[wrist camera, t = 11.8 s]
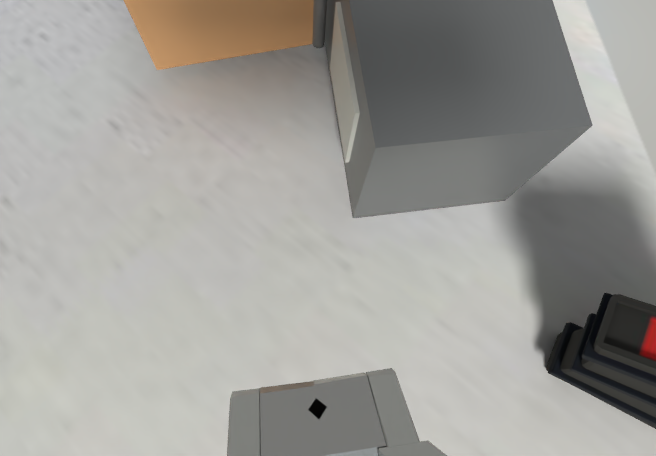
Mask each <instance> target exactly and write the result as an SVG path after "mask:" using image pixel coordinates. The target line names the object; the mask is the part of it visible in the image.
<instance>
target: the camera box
mask: <svg viewBox="0 0 656 456" xmlns="http://www.w3.org/2000/svg"><path fill="white" fill-rule="evenodd" d="M325 46H326V52H327V58H328V65H329V71H330V77H331V83H332V90H333V96H334V102H335V109H336V115H337V121H338V127H339V134H340V140H341V146H342V153H343V159H344V165H345V172H346V178H347V184H348V190H349V197H350V203H351V209H352V216H353V218H359V217H368V216H376V215H385V214H393V213H402V212H411V211H419V210H428V209H436V208H445V207H453V206H462V205H471V204H479V203H488V202H496V201H505V200H506V199H507V198H508V197H509V196H511V195H512V194H513V193H514V192H515V191H516V190H518V189H519V188H520V187H521V186H522V185H523V184H525V183H526V182H527V181H528V180H529V179H530V178H532V177H533V176H534V175H535V174H536V173H537V172H539V171H540V170H541V169H542V168H543V167H544V166H546V165H547V164H548V163H549V162H550V161H551V160H553V159H554V158H555V157H556V156H557V155H558V154H560V153H561V152H562V151H563V150H564V149H565V148H567V147H568V146H569V145H570V144H571V143H573V142H574V141H575V140H576V139H577V138H578V137H580V136H581V135H582V134H583V133H584V132H585V131H587V130H588V129H589V128H590V127H591V126H592V122H591V119H590V116H589V113H588V110H587V107H586V104H585V101H584V97H583V94H582V91H581V88H580V85H579V82H578V79H577V76H576V73H575V69H574V66H573V63H572V60H571V57H570V54H569V51H568V48H567V45H566V41H565V38H564V35H563V32H562V29H561V26H560V23H559V20H558V16H557V13H556V10H555V7H554V4H553V1H552V0H327V11H326V26H325Z"/></svg>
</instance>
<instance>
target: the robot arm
mask: <svg viewBox="0 0 656 456" xmlns="http://www.w3.org/2000/svg"><path fill="white" fill-rule="evenodd" d="M227 456H447V455H445V454H444V453H443V452H442V451H441V450H439V449H438V448H437V447H436V446H434V445H433V444H432V443H431V442H429V441H421V442H420V441H419V438H418V435H417V432H416V429H415V427H414V424H413V421H412V418H411V415H410V412H409V410H408V407H407V404H406V401H405V398H404V395H403V393H402V390H401V387H400V384H399V381H398V378H397V376H396V373H395V371H394V370H393V369H392V368H390V369H384V370H377V371H371V372H366V374H365V373H358V374H352V375H345V376H339V377H333V378H327V379H320V380H314V381H311V382H303V383H295V384H286V385H278V386H270V387H262V388H258V389H250V390H242V391H234V392H232V395H231V398H230V411H229V429H228V447H227Z"/></svg>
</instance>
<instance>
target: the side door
mask: <svg viewBox="0 0 656 456" xmlns="http://www.w3.org/2000/svg"><path fill="white" fill-rule="evenodd" d="M124 2H125V4H126V6H127V8H128V10H129V12H130V15H131V17H132V19H133V21H134V23H135V25H136V27H137V29H138V31H139V33H140V35H141V37H142V39H143V42H144V44H145V46H146V48H147V50H148V52H149V54H150V56H151V58H152V60H153V62H154V64H155V67H156V69H157V70H161V69H167V68H173V67H178V66H184V65H190V64H196V63H202V62H208V61H214V60H220V59H226V58H232V57H238V56H244V55H250V54H256V53H262V52H268V51H274V50H280V49H286V48H291V47H297V46H303V45H309V44H313V46H314V47H316V48H321V47H323V46H324V42H325V26H326V11H327V0H124Z"/></svg>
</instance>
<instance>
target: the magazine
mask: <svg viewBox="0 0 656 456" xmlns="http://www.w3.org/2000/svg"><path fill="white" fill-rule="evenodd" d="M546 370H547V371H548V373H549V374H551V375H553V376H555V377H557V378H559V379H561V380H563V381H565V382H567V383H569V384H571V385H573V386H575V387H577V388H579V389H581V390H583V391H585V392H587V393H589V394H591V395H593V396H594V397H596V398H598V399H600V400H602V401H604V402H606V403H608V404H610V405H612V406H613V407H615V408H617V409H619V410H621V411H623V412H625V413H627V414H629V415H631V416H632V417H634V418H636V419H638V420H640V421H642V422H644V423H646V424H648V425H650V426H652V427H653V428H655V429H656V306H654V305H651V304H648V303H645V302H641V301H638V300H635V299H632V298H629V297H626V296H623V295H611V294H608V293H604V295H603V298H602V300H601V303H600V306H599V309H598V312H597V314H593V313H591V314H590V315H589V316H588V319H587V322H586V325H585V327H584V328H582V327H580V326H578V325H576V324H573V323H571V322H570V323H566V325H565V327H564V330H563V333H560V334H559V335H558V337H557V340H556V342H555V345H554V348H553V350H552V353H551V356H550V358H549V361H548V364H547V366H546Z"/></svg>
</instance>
